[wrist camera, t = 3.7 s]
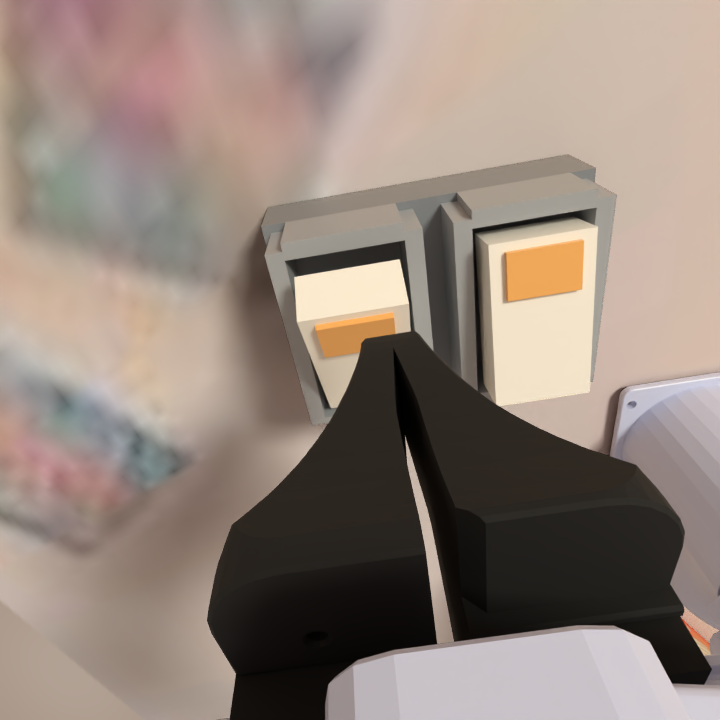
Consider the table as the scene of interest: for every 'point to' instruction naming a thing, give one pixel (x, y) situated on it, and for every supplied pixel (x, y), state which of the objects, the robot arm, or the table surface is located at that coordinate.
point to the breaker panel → (430, 250)
